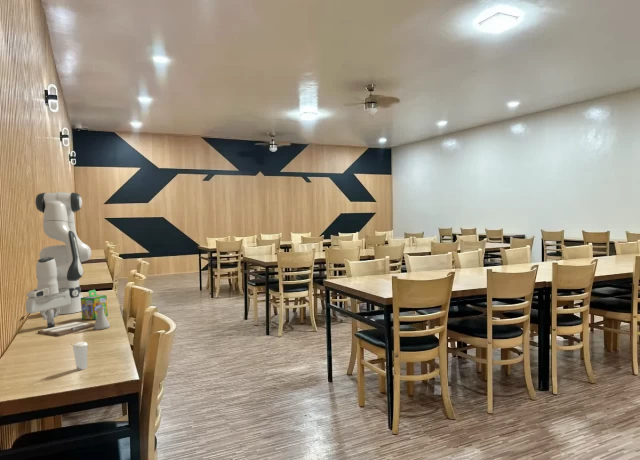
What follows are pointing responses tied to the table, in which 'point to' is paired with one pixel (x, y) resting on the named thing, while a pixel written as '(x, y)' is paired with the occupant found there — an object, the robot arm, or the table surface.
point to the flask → (101, 320)
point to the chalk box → (93, 305)
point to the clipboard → (67, 328)
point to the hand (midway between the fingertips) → (50, 318)
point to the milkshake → (80, 355)
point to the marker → (50, 318)
